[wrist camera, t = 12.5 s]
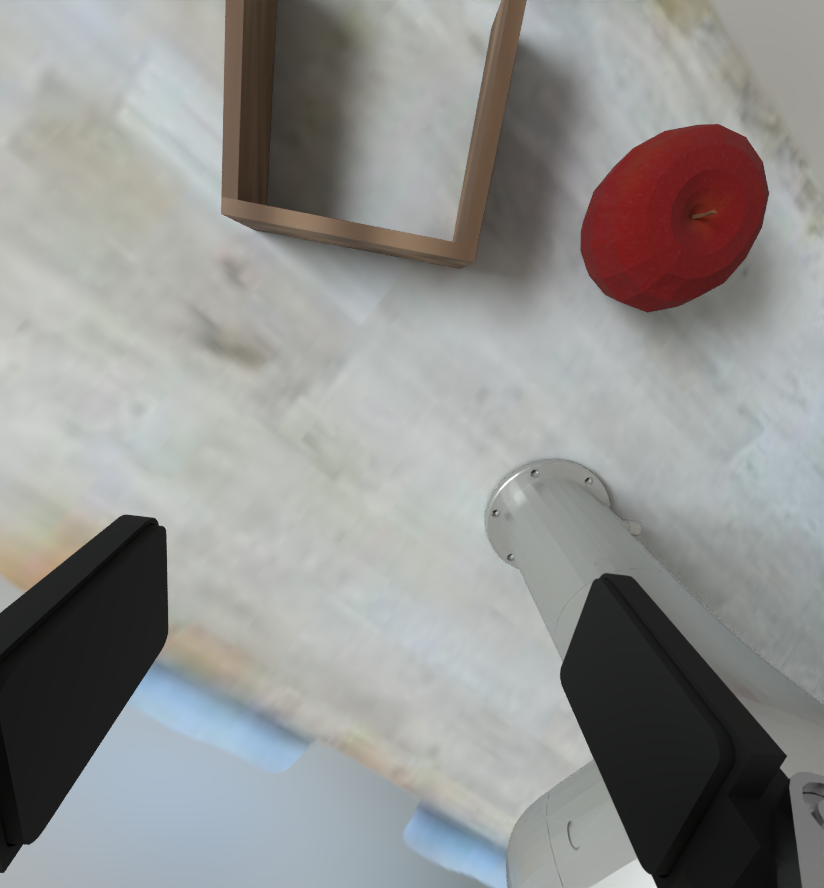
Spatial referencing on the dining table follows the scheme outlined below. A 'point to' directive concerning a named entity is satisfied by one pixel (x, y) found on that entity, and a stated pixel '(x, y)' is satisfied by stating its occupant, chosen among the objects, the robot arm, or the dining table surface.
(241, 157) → the open box
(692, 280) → the apple
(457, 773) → the dining table surface
